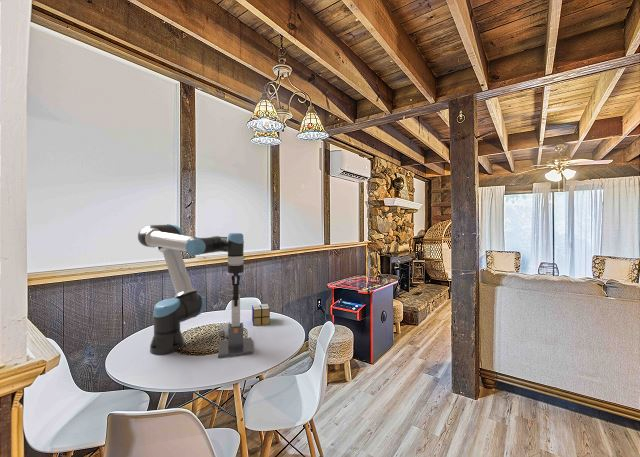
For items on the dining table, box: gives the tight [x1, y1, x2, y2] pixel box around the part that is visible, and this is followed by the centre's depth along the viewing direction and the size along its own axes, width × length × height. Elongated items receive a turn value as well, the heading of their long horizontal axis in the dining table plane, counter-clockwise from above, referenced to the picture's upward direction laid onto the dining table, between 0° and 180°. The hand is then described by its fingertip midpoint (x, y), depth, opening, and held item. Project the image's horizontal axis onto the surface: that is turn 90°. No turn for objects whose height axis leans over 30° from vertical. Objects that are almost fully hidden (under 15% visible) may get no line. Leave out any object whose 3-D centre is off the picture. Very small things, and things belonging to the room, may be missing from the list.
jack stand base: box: [217, 322, 254, 359], centre depth 143 cm, size 16×16×12 cm
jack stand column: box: [226, 287, 245, 328], centre depth 143 cm, size 8×4×22 cm, turn 106°
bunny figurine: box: [216, 321, 232, 339], centre depth 162 cm, size 10×5×15 cm
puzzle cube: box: [251, 303, 271, 327], centre depth 179 cm, size 10×10×10 cm
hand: (235, 310), depth 143 cm, fingers closed on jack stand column, 4 cm apart
